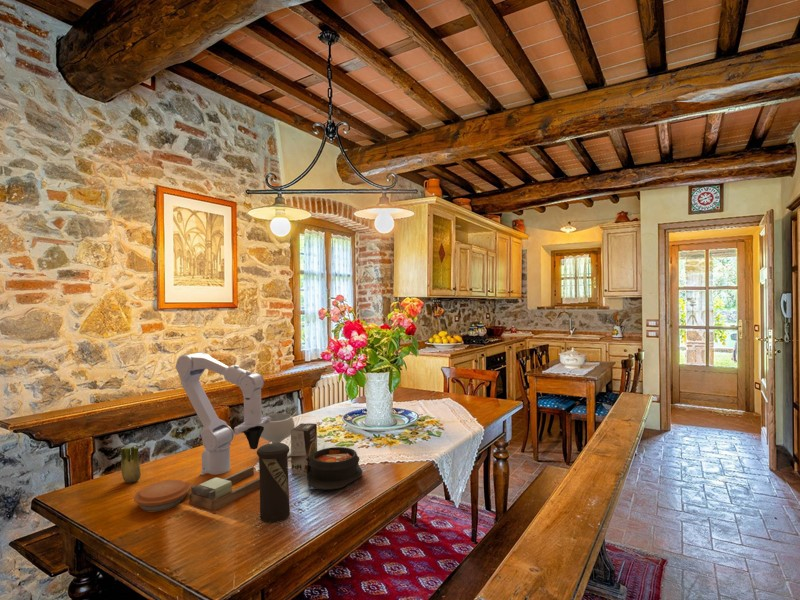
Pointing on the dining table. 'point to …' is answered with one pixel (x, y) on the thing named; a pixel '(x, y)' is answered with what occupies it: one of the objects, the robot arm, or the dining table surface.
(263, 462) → the container
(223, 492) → the pale green block
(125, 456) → the fennel bulb
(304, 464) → the coffee box
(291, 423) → the chalice
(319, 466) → the casserole
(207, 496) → the bay
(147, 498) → the pie
